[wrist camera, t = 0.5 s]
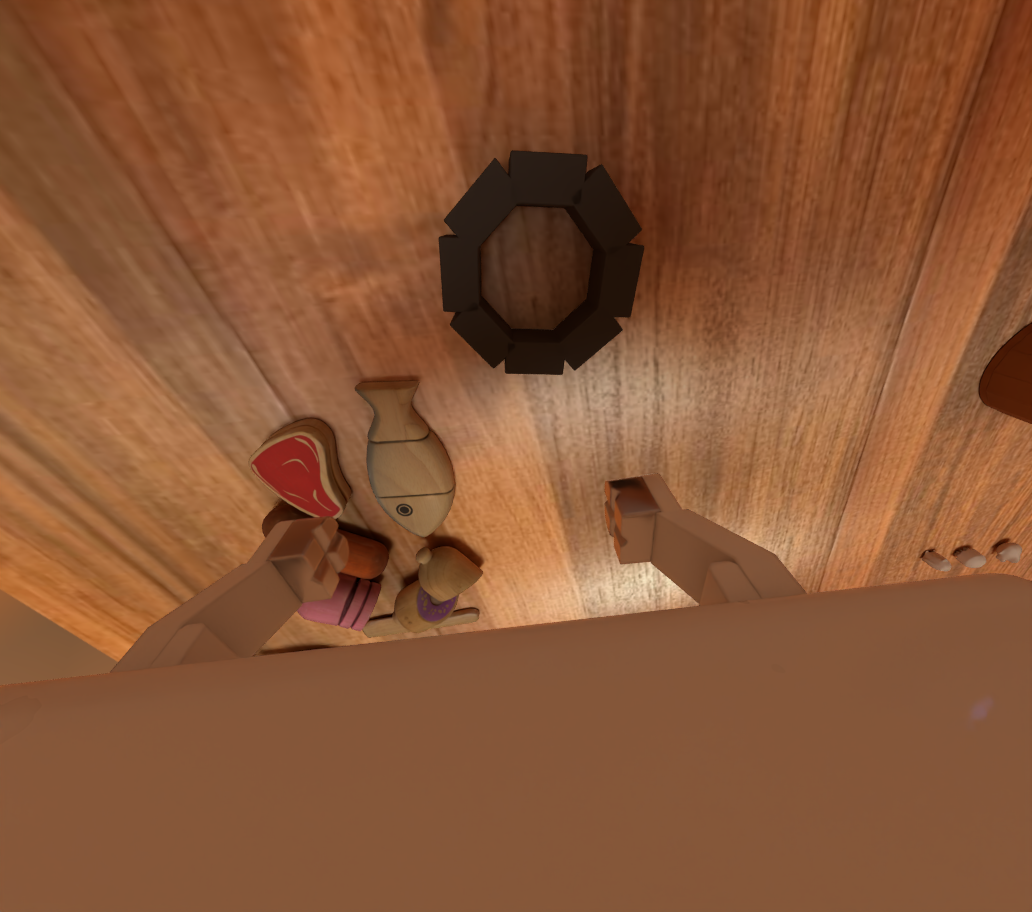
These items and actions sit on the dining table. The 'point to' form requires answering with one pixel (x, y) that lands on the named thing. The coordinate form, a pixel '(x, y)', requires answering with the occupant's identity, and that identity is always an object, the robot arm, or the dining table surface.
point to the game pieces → (973, 557)
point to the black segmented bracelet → (596, 217)
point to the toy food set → (401, 493)
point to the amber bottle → (1011, 378)
